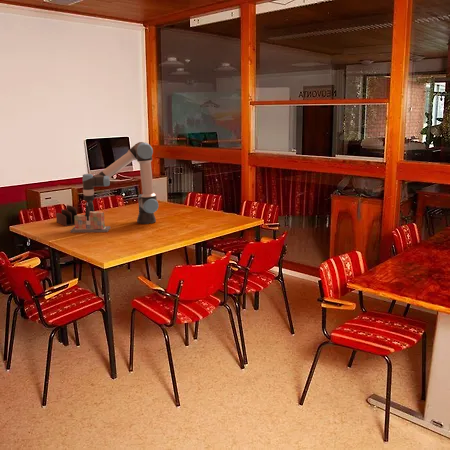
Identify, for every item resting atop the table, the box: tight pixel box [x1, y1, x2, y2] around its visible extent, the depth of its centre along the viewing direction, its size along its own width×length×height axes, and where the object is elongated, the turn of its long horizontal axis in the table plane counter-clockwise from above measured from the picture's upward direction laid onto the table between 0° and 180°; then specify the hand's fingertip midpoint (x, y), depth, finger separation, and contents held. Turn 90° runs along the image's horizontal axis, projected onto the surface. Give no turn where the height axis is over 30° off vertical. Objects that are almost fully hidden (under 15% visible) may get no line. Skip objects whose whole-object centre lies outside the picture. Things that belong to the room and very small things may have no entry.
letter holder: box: [55, 204, 78, 227], centre depth 393 cm, size 10×20×14 cm, turn 40°
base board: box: [70, 225, 111, 233], centre depth 372 cm, size 27×13×2 cm, turn 93°
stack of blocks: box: [74, 210, 106, 229], centre depth 370 cm, size 21×6×12 cm, turn 81°
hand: (90, 222), depth 371 cm, fingers open, 13 cm apart
